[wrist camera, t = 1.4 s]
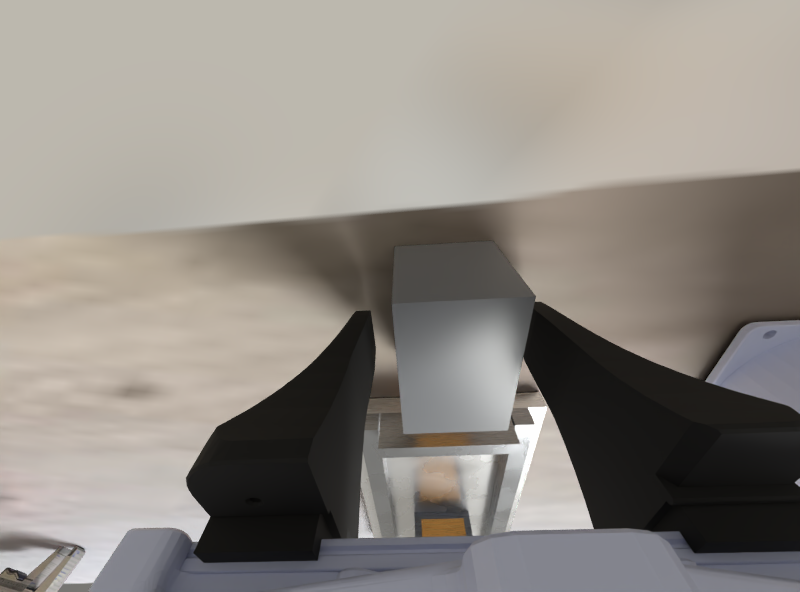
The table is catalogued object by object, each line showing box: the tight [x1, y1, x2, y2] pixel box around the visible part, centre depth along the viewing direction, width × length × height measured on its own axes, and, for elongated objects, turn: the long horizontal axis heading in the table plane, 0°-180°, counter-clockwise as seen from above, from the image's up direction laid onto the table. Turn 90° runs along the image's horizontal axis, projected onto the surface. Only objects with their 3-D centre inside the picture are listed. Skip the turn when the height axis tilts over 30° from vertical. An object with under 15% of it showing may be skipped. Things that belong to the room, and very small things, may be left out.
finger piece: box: [392, 241, 536, 434], centre depth 12 cm, size 4×6×4 cm, turn 4°
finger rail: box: [361, 392, 547, 538], centre depth 19 cm, size 11×18×6 cm, turn 4°
